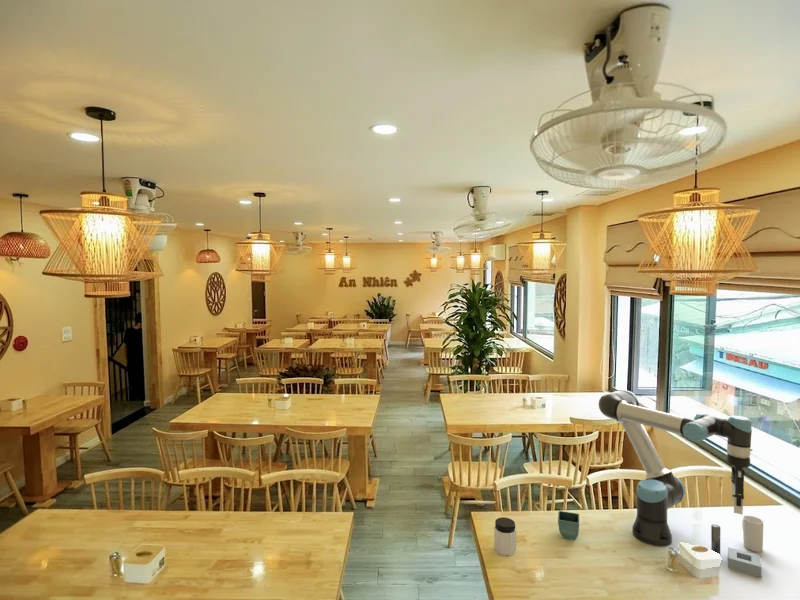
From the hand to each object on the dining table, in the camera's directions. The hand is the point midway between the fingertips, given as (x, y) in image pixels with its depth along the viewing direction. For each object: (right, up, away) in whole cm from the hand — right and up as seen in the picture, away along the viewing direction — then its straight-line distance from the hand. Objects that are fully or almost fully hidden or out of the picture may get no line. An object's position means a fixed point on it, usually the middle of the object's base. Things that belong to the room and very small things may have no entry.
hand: (736, 506), depth 180 cm
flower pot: (-63, -21, +15) cm, 68 cm away
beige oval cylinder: (+12, -20, +7) cm, 25 cm away
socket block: (-2, -21, -7) cm, 22 cm away
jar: (-93, -21, +5) cm, 96 cm away
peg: (-8, -21, +1) cm, 22 cm away
